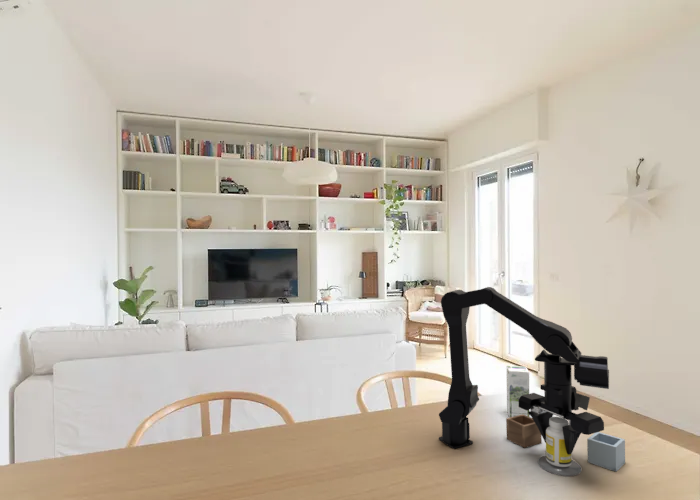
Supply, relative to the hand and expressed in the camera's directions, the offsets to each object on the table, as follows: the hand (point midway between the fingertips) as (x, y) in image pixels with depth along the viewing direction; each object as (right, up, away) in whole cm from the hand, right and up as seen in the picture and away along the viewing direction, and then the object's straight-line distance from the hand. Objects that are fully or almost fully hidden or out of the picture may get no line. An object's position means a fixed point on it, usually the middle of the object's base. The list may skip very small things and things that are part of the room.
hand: (558, 448), depth 100 cm
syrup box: (+2, -4, +30) cm, 30 cm away
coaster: (0, -4, 0) cm, 4 cm away
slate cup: (+12, -4, +1) cm, 12 cm away
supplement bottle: (0, -3, 0) cm, 3 cm away
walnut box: (-3, -4, +13) cm, 14 cm away
